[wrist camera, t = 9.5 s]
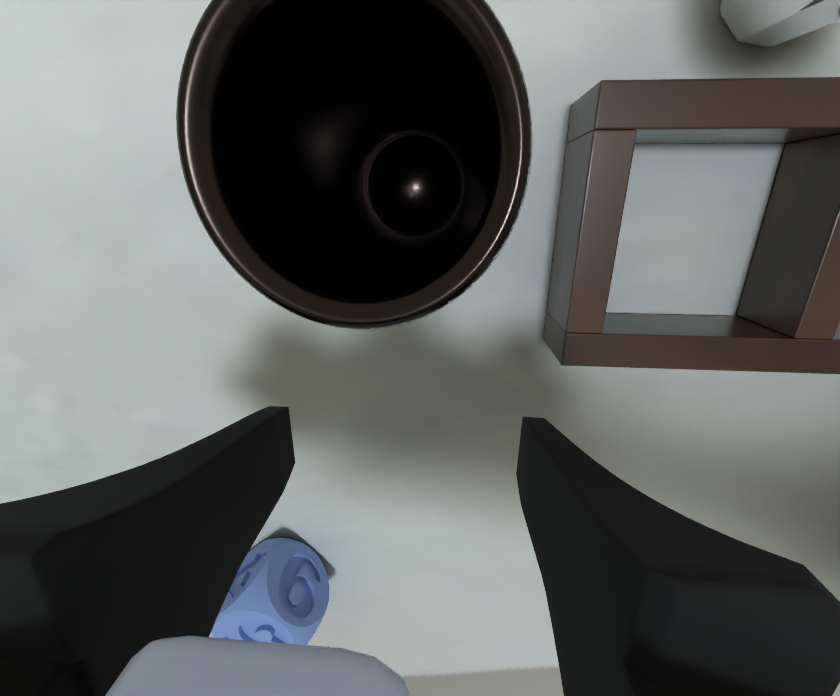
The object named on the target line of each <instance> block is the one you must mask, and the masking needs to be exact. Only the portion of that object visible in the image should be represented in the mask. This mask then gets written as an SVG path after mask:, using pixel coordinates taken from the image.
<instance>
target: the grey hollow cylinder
mask: <svg viewBox="0 0 840 696" xmlns="http://www.w3.org/2000/svg"><path fill="white" fill-rule="evenodd" d="M176 120H177V139H178V149H179V155H180V161H181V166H182V170H183V174H184V178H185V181H186V185H187V188H188V191H189V194H190V197H191V199H192V202H193V205H194V207H195V209H196V211H197V214H198V216H199V218H200V220H201V222H202V224H203V226H204V228H205V229H206V231H207V233H208V235H209V236H210V238H211V239H212V241H213V243H214V244H215V246H216V247H217V248H218V250H219V251H220V253H221V254H222V255H223V257H224V258H225V259H226V260H227V261H228V263H229V264H230V265H231V266H232V267H233V268H234V269H235V271H236V272H237V273H238V274H239V275H240V276H241V277H242V278H243V279H244V280H245V281H246V282H248V283H249V284H250V285H251V286H252V287H253V288H255V289H256V290H257V291H258V292H259V293H261V294H262V295H264V296H265V297H266V298H268V299H269V300H271V301H272V302H274V303H276V304H277V305H279V306H280V307H282V308H284V309H286V310H288V311H290V312H292V313H294V314H296V315H299V316H301V317H303V318H306V319H309V320H312V321H315V322H318V323H322V324H325V325H330V326H335V327H341V328H349V329H378V328H386V327H392V326H397V325H401V324H405V323H409V322H412V321H415V320H418V319H420V318H423V317H425V316H427V315H430V314H432V313H434V312H435V311H437V310H439V309H441V308H443V307H444V306H446V305H448V304H449V303H451V302H452V301H454V300H455V299H456V298H458V297H459V296H460V295H462V294H463V293H464V292H465V291H466V290H468V289H469V288H470V287H471V286H472V285H473V284H474V283H475V282H476V281H477V280H478V279H479V278H480V277H481V276H482V275H483V274H484V273H485V271H486V270H487V269H488V268H489V267H490V265H491V264H492V263H493V261H494V260H495V259H496V257H497V256H498V254H499V253H500V251H501V249H502V248H503V246H504V245H505V243H506V241H507V239H508V237H509V235H510V233H511V231H512V229H513V227H514V225H515V222H516V220H517V218H518V215H519V212H520V209H521V206H522V204H523V200H524V196H525V193H526V189H527V184H528V179H529V174H530V166H531V157H532V121H531V111H530V104H529V98H528V93H527V88H526V84H525V80H524V76H523V73H522V70H521V67H520V64H519V61H518V58H517V56H516V53H515V51H514V48H513V46H512V44H511V42H510V40H509V38H508V36H507V34H506V32H505V30H504V28H503V26H502V24H501V23H500V21H499V20H498V18H497V16H496V15H495V13H494V12H493V10H492V9H491V8H490V6H489V5H488V4H487V2H486V1H485V0H212V1H211V2H210V4H209V5H208V7H207V8H206V10H205V12H204V13H203V15H202V17H201V19H200V21H199V23H198V25H197V27H196V29H195V31H194V34H193V36H192V38H191V41H190V44H189V46H188V49H187V52H186V55H185V59H184V63H183V67H182V71H181V76H180V81H179V88H178V97H177V114H176Z"/></svg>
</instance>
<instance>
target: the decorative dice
mask: <svg viewBox="0 0 840 696" xmlns="http://www.w3.org/2000/svg"><path fill="white" fill-rule="evenodd" d="M328 600H329V582H328V577H327V573H326V570H325V567H324V565H323V563H322V561H321V560H320V558H319V557H318V555H317V554H316V553H315V552H314V551H313V550H312V549H311V548H310V547H308V546H307V545H305V544H304V543H302V542H299V541H297V540H294V539H290V538H273V539H267V540H265V541H263V542H261V543H260V544H258V545H257V546H256V547H255V548H253V549H252V550H251V551H250V552H249V553H248V554H247V555H246V557H245V559H244V560H243V562H242V564H241V566H240V568H239V570H238V572H237V574H236V576H235V579H234V581H233V583H232V585H231V587H230V589H229V592H228V594H227V596H226V598H225V600H224V603H223V605H222V607H221V609H220V612H219V614H218V616H217V619H216V621H215V623H214V626H213V628H212V630H211V632H212V635H213V638H223V639H235V640H247V641H260V642H272V643H284V644H296V645H306V644H307V643H308V642H309V640H310V639H311V638H312V636H313V635H314V633H315V631H316V630H317V628H318V626H319V624H320V622H321V621H322V618H323V616H324V614H325V611H326V608H327V605H328Z"/></svg>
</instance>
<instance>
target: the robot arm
mask: <svg viewBox="0 0 840 696" xmlns="http://www.w3.org/2000/svg"><path fill="white" fill-rule="evenodd" d="M294 464H295V457H294V449H293V440H292V432H291V424H290V415H289V407H275V406H269V407H266V408H264V409H261V410H259V411H257V412H255V413H253V414H251V415H249V416H247V417H245V418H243V419H241V420H239V421H237V422H235V423H233V424H231V425H229V426H228V427H226V428H224V429H222V430H220V431H218V432H216V433H214V434H212V435H210V436H208V437H206V438H204V439H201V440H199V441H197V442H195V443H193V444H191V445H189V446H187V447H185V448H182V449H180V450H178V451H176V452H173V453H171V454H169V455H166V456H164V457H162V458H159V459H156V460H154V461H151V462H149V463H146V464H144V465H141V466H138V467H135V468H133V469H130V470H127V471H124V472H120V473H117V474H114V475H111V476H108V477H105V478H102V479H99V480H96V481H93V482H89V483H86V484H82V485H79V486H75V487H71V488H68V489H64V490H60V491H56V492H52V493H48V494H44V495H40V496H35V497H31V498H27V499H22V500H17V501H12V502H7V503H2V504H0V696H410V694H409V692H408V689H407V687H406V684H405V682H404V680H403V679H402V678H401V677H400V675H399V674H397V673H396V672H395V671H393V670H392V669H391V668H389V667H388V666H387V665H385V664H384V663H382V662H381V661H380V660H378V659H377V658H376V657H374V656H370V655H366V654H362V653H358V652H354V651H351V650H347V649H343V648H333V647H321V646H309V645H296V644H284V643H272V642H260V641H247V640H235V639H223V638H211V637H209V635H210V633H211V630H212V628H213V626H214V623H215V621H216V619H217V616H218V614H219V612H220V609H221V607H222V605H223V603H224V600H225V598H226V596H227V594H228V592H229V589H230V587H231V585H232V583H233V581H234V579H235V576H236V574H237V572H238V570H239V568H240V566H241V564H242V562H243V560H244V559H245V557H246V555H247V553H248V551H249V550H250V548H251V546H252V545H253V543H254V541H255V539H256V538H257V536H258V534H259V533H260V531H261V529H262V528H263V526H264V524H265V522H266V521H267V519H268V517H269V516H270V514H271V512H272V510H273V509H274V507H275V505H276V504H277V502H278V500H279V498H280V496H281V495H282V493H283V491H284V489H285V487H286V484H287V482H288V480H289V477H290V474H291V472H292V469H293V467H294ZM516 474H517V481H518V488H519V495H520V501H521V506H522V509H523V513H524V516H525V520H526V523H527V527H528V530H529V534H530V537H531V540H532V544H533V547H534V551H535V554H536V557H537V561H538V564H539V568H540V571H541V574H542V578H543V583H544V587H545V591H546V596H547V601H548V606H549V611H550V617H551V622H552V627H553V633H554V639H555V645H556V650H557V656H558V662H559V668H560V673H561V679H562V686H563V692H564V696H832V695H833V693H834V691H835V689H836V688H837V686H838V684H839V682H840V602H839V601H838V600H837V599H836V598H835V597H834V596H833V595H832V594H831V592H830V591H829V590H828V589H827V588H826V587H825V586H824V585H823V584H822V583H821V582H820V581H819V580H818V579H817V578H816V577H815V576H814V575H813V574H812V573H811V572H810V571H809V570H808V569H807V568H806V567H805V566H804V565H802V564H800V563H797V562H794V561H791V560H789V559H786V558H783V557H781V556H778V555H775V554H773V553H770V552H767V551H765V550H762V549H759V548H757V547H754V546H751V545H748V544H746V543H743V542H741V541H738V540H736V539H734V538H731V537H729V536H727V535H724V534H722V533H720V532H718V531H715V530H713V529H711V528H708V527H706V526H704V525H702V524H700V523H698V522H696V521H694V520H691V519H689V518H687V517H685V516H683V515H681V514H679V513H678V512H676V511H674V510H672V509H670V508H668V507H666V506H664V505H662V504H660V503H659V502H657V501H655V500H653V499H652V498H650V497H648V496H646V495H645V494H643V493H641V492H640V491H638V490H637V489H635V488H633V487H632V486H630V485H629V484H627V483H625V482H624V481H622V480H621V479H619V478H618V477H616V476H615V475H613V474H612V473H611V472H609V471H608V470H607V469H605V468H604V467H603V466H601V465H600V464H598V463H597V462H596V461H594V460H593V459H592V458H591V457H589V456H588V455H587V454H586V453H584V452H583V451H582V450H581V449H580V448H578V447H577V446H576V445H575V444H574V443H572V442H571V441H570V440H569V439H568V438H567V437H565V436H564V435H563V434H562V433H561V432H560V431H559V430H557V429H556V428H555V427H554V426H553V425H552V424H550V423H549V422H548V421H547V420H546V419H544V418H535V417H523V419H522V428H521V437H520V446H519V455H518V464H517V473H516Z"/></svg>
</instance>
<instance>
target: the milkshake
mask: <svg viewBox="0 0 840 696" xmlns="http://www.w3.org/2000/svg"><path fill="white" fill-rule="evenodd" d="M720 14H721V16H722V17H723V19H724V20H725V22H726V24H727V25H728V27H729V28H730V30H731V32H732V33H733V35H734V36H735V38H736V40H737V41H739V42H745V43H751V44H756V45H762V46H767V47H772V46H775V45H777V44H780V43H783V42H785V41H788V40H791V39H793V38H796V37H798V36H801V35H804V34H806V33H809V32H811V31H814V30H817V29H819V28H822V27H824V26H827V25H830V24H832V23H835V22H837V21H840V0H721V9H720Z"/></svg>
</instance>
